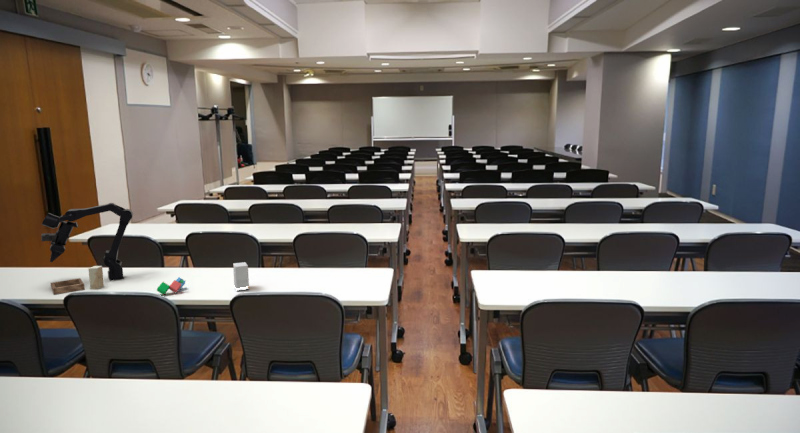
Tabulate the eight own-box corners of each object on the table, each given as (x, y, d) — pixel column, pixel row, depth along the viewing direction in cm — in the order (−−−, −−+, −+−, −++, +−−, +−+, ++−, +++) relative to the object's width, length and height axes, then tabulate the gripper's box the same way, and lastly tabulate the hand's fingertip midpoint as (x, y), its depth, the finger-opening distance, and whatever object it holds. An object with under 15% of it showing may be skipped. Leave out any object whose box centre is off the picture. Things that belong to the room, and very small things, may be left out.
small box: (249, 290, 253) (248, 265, 250) (236, 292, 250) (235, 267, 248) (246, 285, 260) (245, 261, 258) (234, 287, 257) (232, 263, 255)
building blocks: (169, 301, 249) (185, 283, 257) (171, 296, 243) (187, 277, 250) (156, 293, 248) (171, 275, 256) (157, 287, 242) (173, 269, 249)
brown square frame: (80, 283, 263) (80, 278, 263) (84, 289, 253) (84, 283, 253) (51, 288, 255) (50, 282, 254) (53, 294, 245) (53, 288, 245)
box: (98, 289, 254) (96, 268, 252) (89, 289, 254) (87, 268, 252) (104, 286, 259) (102, 265, 257) (96, 286, 259) (94, 265, 257)
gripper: (47, 222, 262) (34, 249, 261) (45, 231, 247) (31, 259, 246) (70, 229, 268) (58, 256, 268) (70, 238, 253) (57, 266, 252)
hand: (51, 259), depth 258 cm, fingers open, 9 cm apart
